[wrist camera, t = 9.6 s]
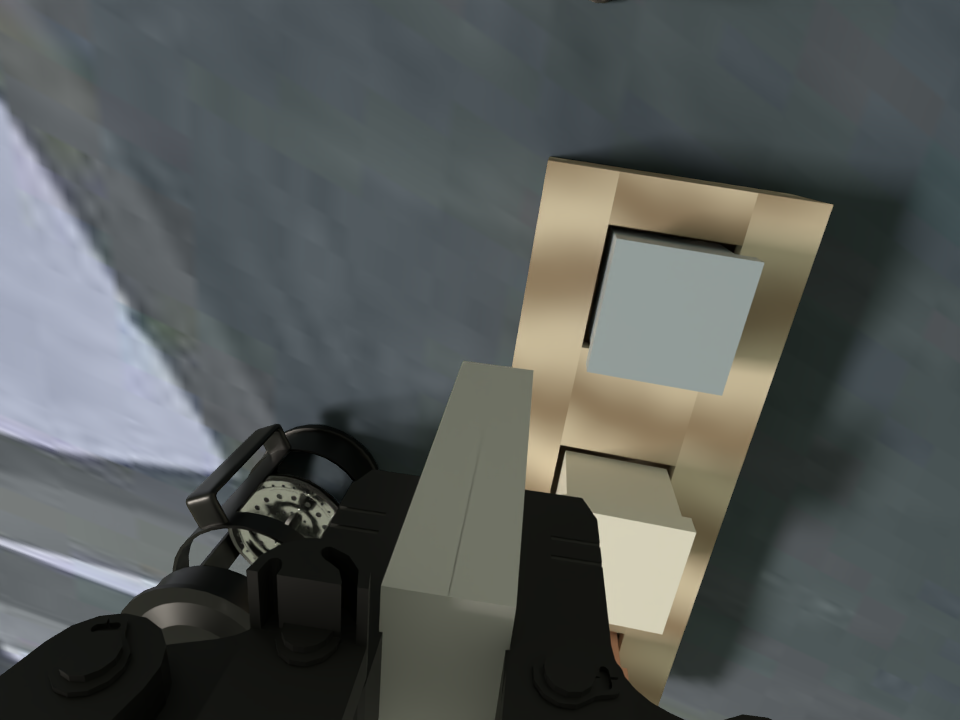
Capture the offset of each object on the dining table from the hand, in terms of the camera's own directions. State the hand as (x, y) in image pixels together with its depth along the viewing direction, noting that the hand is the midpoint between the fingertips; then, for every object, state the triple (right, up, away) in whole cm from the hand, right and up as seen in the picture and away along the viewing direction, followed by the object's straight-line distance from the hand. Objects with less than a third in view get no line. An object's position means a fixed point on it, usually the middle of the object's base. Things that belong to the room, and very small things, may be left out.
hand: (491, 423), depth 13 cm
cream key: (+7, -7, +24) cm, 26 cm away
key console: (+8, -5, +29) cm, 31 cm away
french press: (-12, -7, +33) cm, 36 cm away
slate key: (+9, +5, +21) cm, 24 cm away
